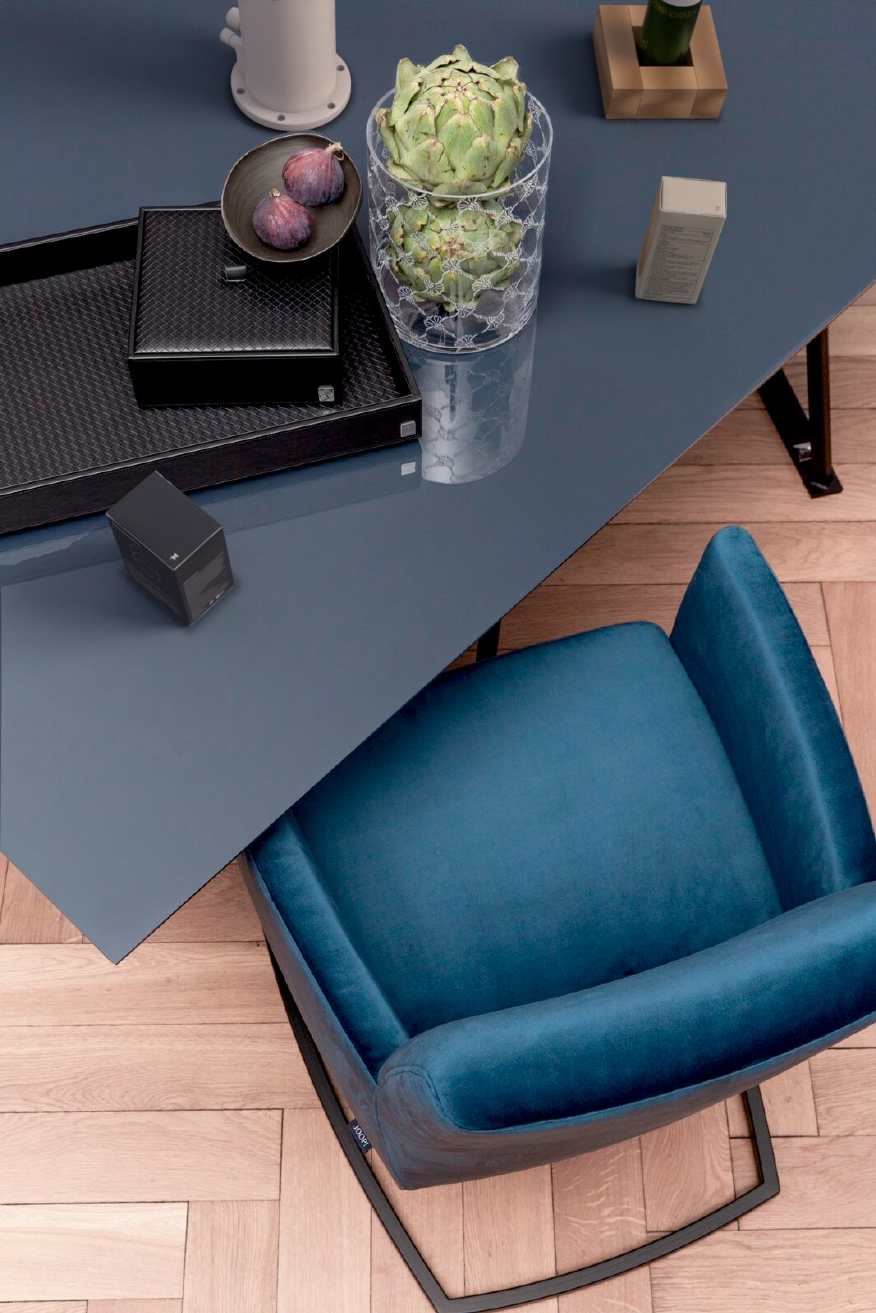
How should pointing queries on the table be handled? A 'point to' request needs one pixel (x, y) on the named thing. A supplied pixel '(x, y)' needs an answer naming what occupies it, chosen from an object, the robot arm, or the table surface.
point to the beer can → (667, 32)
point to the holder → (656, 70)
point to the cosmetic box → (680, 239)
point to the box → (172, 547)
